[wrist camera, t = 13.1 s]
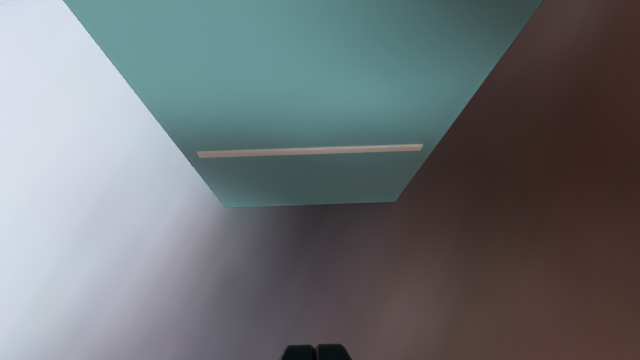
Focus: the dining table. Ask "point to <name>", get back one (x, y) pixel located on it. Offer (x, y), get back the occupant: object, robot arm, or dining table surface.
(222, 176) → the teal domino
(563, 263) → the dining table surface
